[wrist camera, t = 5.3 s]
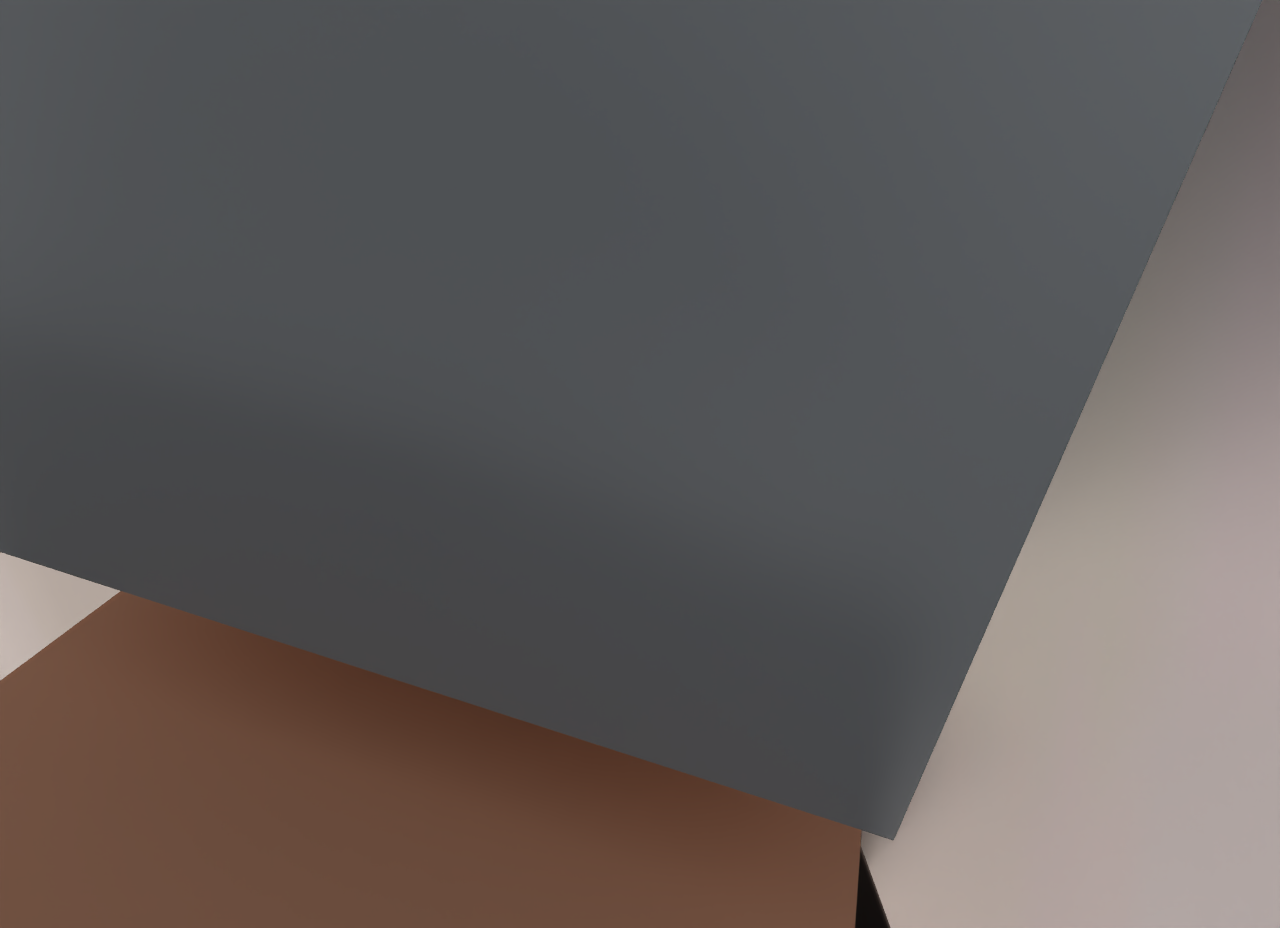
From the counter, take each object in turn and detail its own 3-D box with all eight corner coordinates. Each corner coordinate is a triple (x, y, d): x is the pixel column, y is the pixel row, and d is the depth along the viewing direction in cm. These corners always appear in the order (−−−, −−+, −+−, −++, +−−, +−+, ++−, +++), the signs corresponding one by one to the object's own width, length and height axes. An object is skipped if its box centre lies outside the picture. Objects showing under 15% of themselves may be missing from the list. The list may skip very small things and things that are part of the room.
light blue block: (1076, -111, 8) (1410, -336, 2) (901, 421, 10) (886, 858, 5) (431, -201, 9) (-295, -497, 3) (422, 304, 11) (-1, 568, 6)
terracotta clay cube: (878, 581, 9) (821, 1408, 4) (768, 899, 11) (644, 1646, 6) (335, 431, 10) (-311, 911, 5) (346, 755, 12) (-61, 1296, 7)
